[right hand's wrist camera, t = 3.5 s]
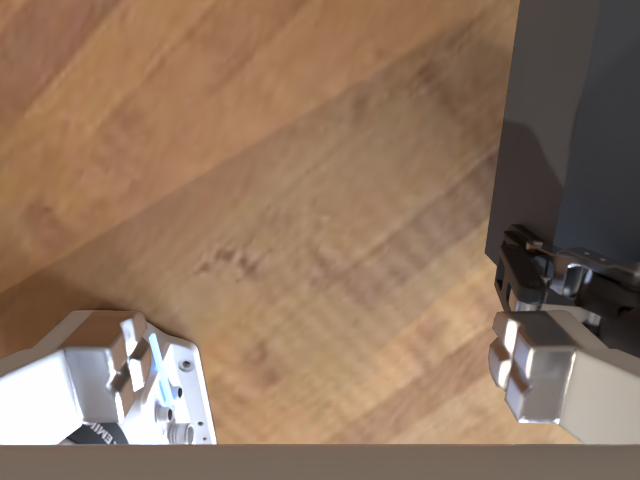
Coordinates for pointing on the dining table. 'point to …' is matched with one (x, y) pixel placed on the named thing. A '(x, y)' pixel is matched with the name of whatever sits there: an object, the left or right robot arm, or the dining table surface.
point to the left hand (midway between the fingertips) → (555, 238)
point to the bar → (572, 129)
